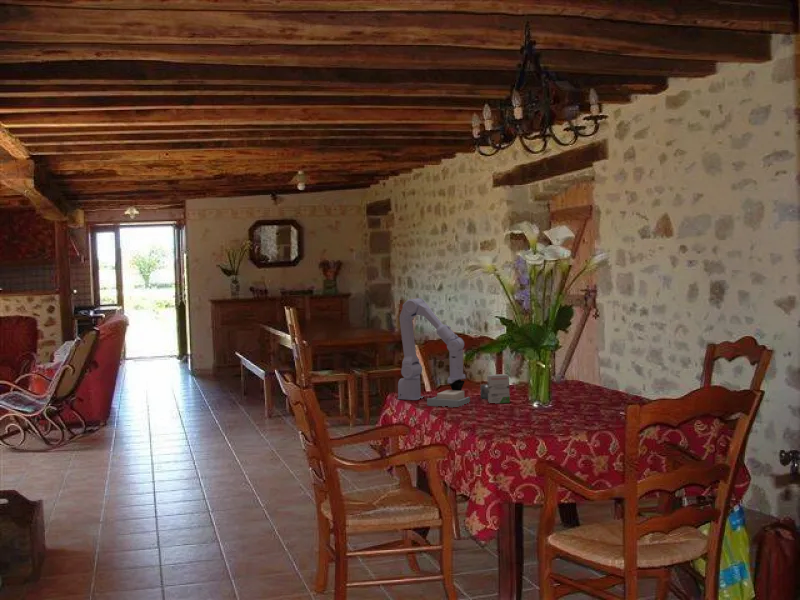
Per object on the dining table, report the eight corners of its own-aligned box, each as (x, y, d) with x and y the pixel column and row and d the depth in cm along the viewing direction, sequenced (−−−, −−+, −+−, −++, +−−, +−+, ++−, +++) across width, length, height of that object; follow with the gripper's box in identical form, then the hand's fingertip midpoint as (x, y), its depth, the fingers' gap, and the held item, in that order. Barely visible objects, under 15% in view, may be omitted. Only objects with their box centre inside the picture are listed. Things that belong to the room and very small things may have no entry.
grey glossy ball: (478, 399, 380) (478, 385, 379) (483, 397, 385) (483, 383, 385) (491, 400, 377) (491, 386, 376) (496, 398, 382) (496, 384, 382)
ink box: (507, 401, 374) (507, 373, 373) (510, 403, 369) (509, 375, 368) (487, 401, 373) (487, 374, 372) (489, 403, 368) (489, 375, 367)
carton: (437, 405, 368) (437, 393, 368) (447, 401, 377) (447, 389, 377) (454, 406, 365) (454, 394, 364) (464, 402, 373) (464, 390, 373)
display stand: (427, 405, 367) (427, 398, 367) (440, 400, 378) (440, 393, 378) (457, 407, 361) (457, 400, 361) (470, 402, 372) (469, 395, 372)
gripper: (457, 368, 368) (458, 401, 369) (471, 364, 381) (472, 395, 381) (442, 368, 371) (443, 400, 372) (456, 363, 384) (457, 394, 385)
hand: (457, 397), depth 377 cm, fingers closed
